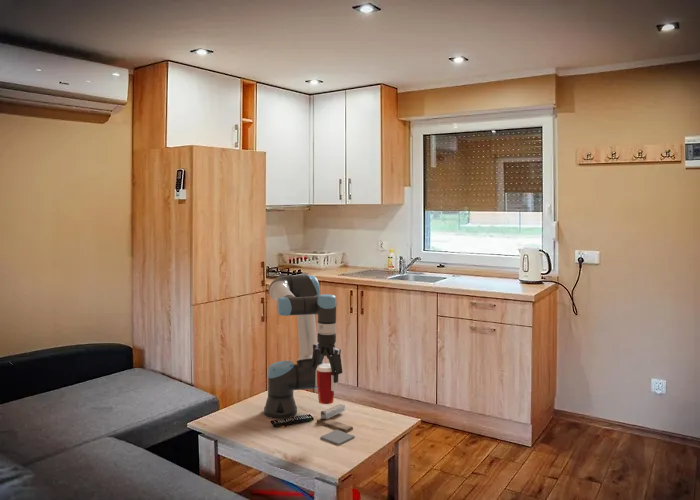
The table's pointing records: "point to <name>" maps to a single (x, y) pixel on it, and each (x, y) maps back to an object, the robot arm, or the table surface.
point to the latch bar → (332, 411)
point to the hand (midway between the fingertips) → (326, 387)
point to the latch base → (335, 425)
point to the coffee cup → (324, 383)
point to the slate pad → (337, 437)
